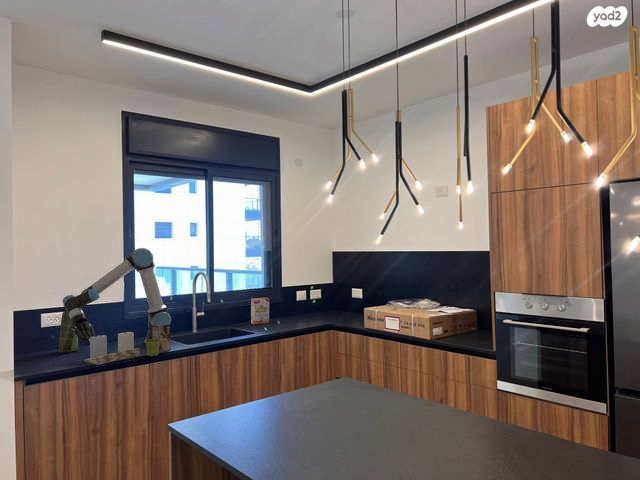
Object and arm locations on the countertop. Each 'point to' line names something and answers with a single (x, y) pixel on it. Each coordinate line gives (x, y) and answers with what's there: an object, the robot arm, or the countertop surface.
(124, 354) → the console
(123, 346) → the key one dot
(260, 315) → the cracker box
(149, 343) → the plant pot
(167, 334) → the coffee box
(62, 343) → the pouch
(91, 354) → the grey upright block
